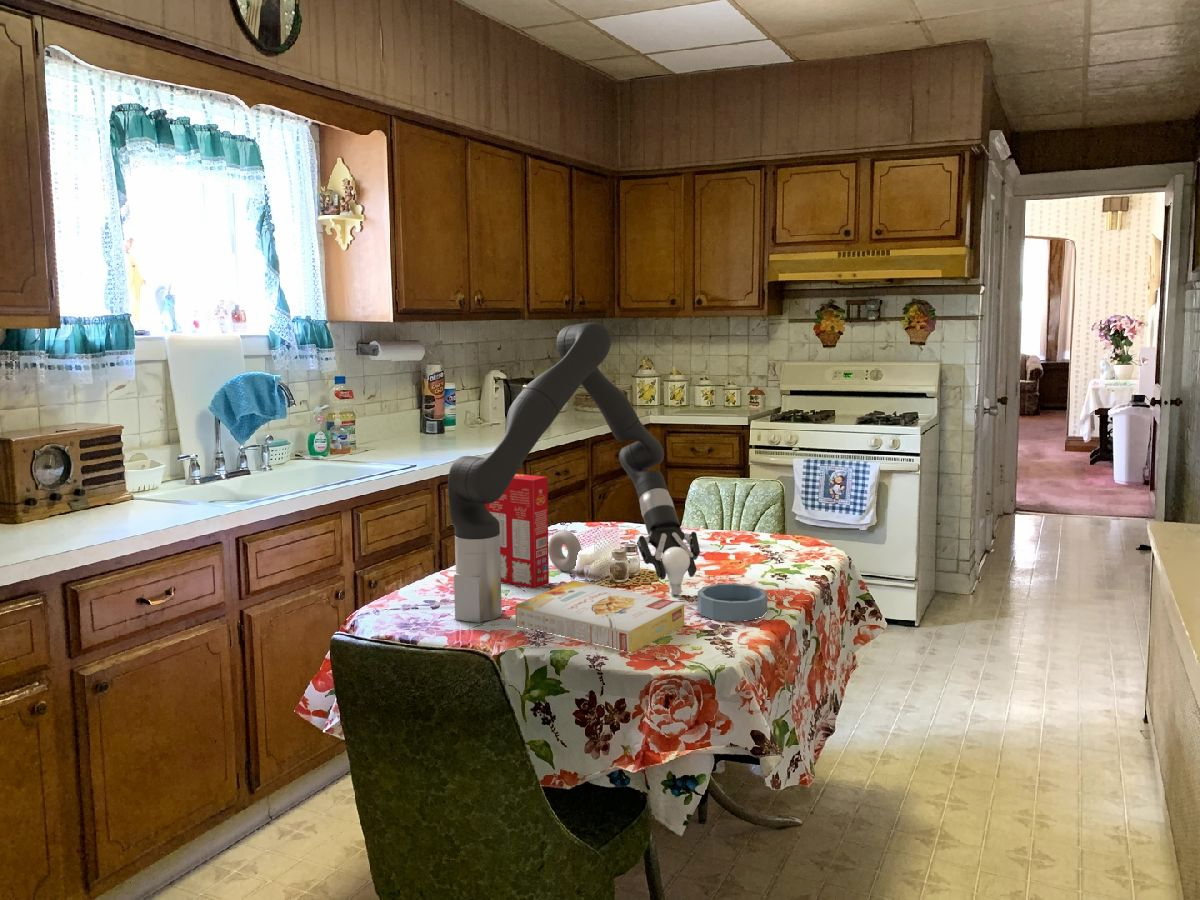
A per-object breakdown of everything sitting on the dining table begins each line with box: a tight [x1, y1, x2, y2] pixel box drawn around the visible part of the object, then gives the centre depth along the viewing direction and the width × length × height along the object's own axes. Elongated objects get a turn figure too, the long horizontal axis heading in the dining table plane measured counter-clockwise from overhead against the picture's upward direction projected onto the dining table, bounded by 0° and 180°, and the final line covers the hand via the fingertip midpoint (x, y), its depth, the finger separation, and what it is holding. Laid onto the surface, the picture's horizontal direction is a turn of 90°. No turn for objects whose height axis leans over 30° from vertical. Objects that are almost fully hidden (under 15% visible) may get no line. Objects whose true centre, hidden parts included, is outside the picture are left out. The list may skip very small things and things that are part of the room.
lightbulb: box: [660, 547, 690, 597], centre depth 222 cm, size 6×6×11 cm
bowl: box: [696, 583, 769, 622], centre depth 211 cm, size 14×14×4 cm
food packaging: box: [485, 473, 550, 589], centre depth 233 cm, size 15×5×25 cm, turn 57°
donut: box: [548, 530, 582, 572], centre depth 244 cm, size 10×3×10 cm, turn 48°
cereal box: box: [514, 579, 685, 653], centre depth 202 cm, size 20×6×28 cm
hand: (678, 576), depth 220 cm, fingers closed on lightbulb, 6 cm apart
